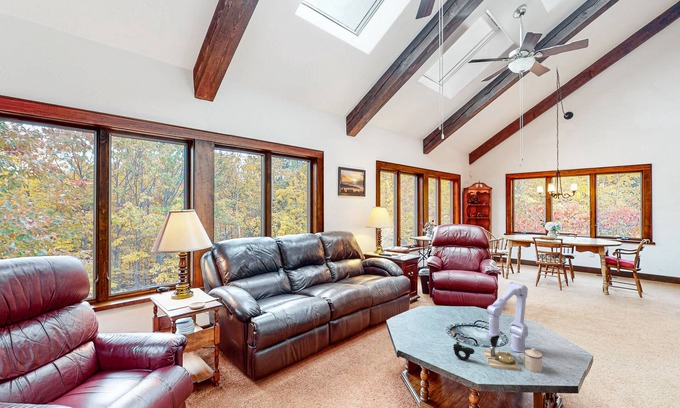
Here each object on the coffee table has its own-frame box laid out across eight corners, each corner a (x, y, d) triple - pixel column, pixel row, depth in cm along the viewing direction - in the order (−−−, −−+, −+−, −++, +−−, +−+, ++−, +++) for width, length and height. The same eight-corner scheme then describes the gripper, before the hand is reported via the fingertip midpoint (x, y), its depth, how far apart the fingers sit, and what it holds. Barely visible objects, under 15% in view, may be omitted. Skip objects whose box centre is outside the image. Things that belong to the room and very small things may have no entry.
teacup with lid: (542, 367, 179) (542, 347, 179) (542, 374, 171) (542, 354, 171) (519, 361, 186) (519, 342, 185) (518, 368, 178) (518, 348, 178)
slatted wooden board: (483, 351, 197) (483, 349, 197) (510, 354, 193) (510, 352, 193) (490, 367, 179) (490, 364, 179) (520, 371, 175) (520, 368, 175)
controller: (454, 355, 193) (454, 339, 193) (474, 361, 186) (474, 344, 186) (452, 358, 190) (452, 342, 189) (473, 364, 183) (473, 347, 182)
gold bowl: (511, 356, 187) (511, 345, 187) (515, 364, 178) (515, 352, 178) (488, 354, 190) (488, 343, 190) (492, 361, 181) (492, 349, 181)
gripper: (495, 330, 182) (495, 353, 182) (505, 323, 191) (505, 345, 192) (483, 327, 187) (483, 348, 187) (493, 320, 197) (493, 341, 197)
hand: (493, 346), depth 190 cm, fingers closed
